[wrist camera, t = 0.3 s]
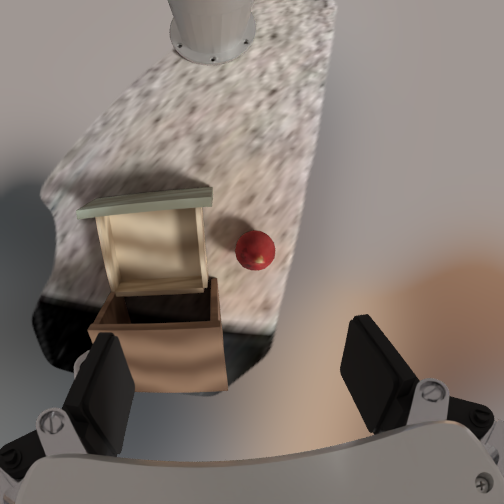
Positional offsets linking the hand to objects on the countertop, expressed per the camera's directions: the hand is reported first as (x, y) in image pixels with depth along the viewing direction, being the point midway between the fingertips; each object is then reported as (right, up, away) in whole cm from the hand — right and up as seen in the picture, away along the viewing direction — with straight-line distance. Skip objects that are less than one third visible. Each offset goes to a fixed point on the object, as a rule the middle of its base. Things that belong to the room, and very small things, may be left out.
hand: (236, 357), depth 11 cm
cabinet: (-14, -6, +39) cm, 42 cm away
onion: (+1, +6, +36) cm, 36 cm away
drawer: (-14, +6, +33) cm, 36 cm away
